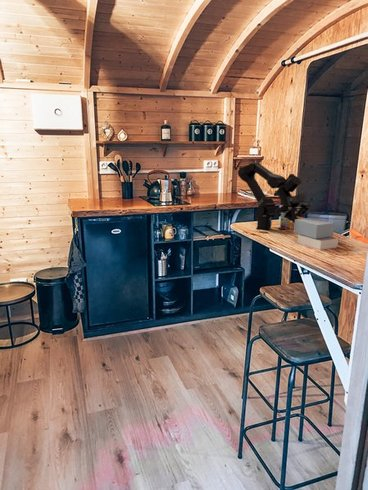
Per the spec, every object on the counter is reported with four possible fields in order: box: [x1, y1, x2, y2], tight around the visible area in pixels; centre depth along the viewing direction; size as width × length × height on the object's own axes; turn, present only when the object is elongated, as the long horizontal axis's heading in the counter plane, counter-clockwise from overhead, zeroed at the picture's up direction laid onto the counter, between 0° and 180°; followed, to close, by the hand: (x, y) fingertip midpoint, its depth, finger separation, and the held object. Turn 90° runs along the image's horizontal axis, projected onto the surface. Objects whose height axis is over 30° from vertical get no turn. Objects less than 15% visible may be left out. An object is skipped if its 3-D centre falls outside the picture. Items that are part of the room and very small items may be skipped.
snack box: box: [278, 204, 291, 230], centre depth 212 cm, size 21×6×15 cm, turn 168°
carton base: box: [296, 234, 339, 251], centre depth 173 cm, size 13×11×4 cm
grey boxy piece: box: [292, 216, 336, 239], centre depth 176 cm, size 18×11×6 cm, turn 30°
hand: (300, 224), depth 180 cm, fingers closed on grey boxy piece, 2 cm apart
